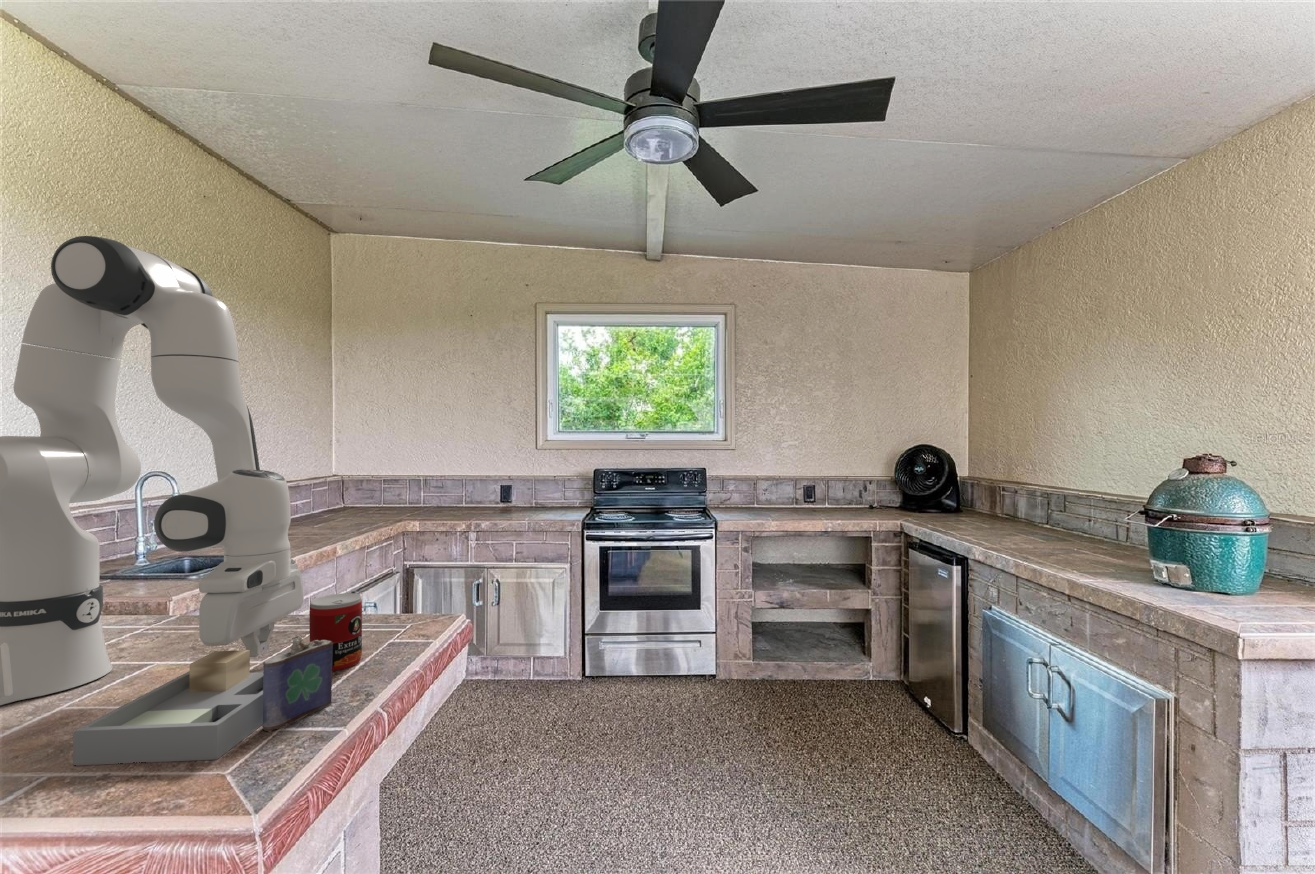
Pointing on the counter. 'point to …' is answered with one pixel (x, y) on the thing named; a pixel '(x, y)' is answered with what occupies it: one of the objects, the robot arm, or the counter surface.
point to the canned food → (338, 626)
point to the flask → (297, 683)
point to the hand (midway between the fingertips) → (257, 654)
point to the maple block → (219, 671)
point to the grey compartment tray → (173, 725)
